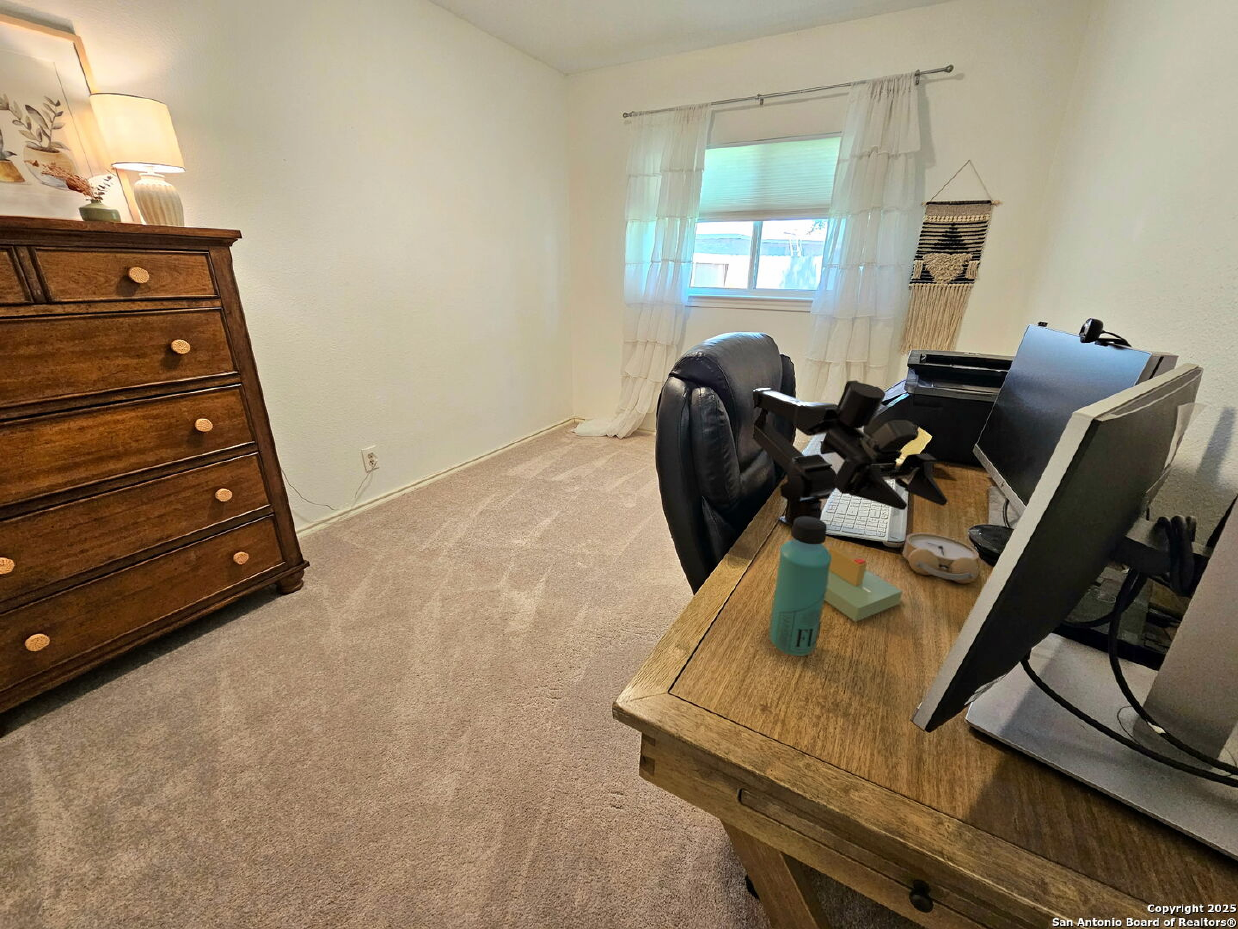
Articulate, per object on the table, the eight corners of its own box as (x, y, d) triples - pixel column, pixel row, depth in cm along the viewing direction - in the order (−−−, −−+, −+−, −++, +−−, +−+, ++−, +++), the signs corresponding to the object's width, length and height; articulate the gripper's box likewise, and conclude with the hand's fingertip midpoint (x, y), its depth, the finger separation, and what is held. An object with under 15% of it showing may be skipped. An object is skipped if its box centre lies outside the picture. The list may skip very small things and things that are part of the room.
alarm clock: (972, 540, 90) (991, 568, 77) (966, 565, 91) (984, 596, 78) (903, 527, 94) (910, 551, 81) (898, 551, 96) (904, 578, 82)
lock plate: (787, 574, 85) (789, 561, 84) (829, 560, 89) (831, 548, 88) (854, 622, 73) (858, 607, 72) (899, 604, 77) (903, 590, 76)
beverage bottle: (791, 672, 63) (813, 539, 56) (756, 641, 69) (772, 516, 62) (826, 656, 66) (851, 527, 59) (789, 627, 72) (808, 506, 65)
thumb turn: (825, 567, 82) (829, 546, 80) (832, 565, 83) (836, 543, 81) (855, 586, 77) (860, 563, 75) (862, 584, 78) (867, 561, 76)
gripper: (837, 408, 77) (912, 465, 66) (916, 409, 85) (996, 461, 73) (808, 463, 84) (872, 525, 72) (884, 460, 91) (953, 515, 79)
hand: (925, 505), depth 74 cm, fingers open, 9 cm apart
